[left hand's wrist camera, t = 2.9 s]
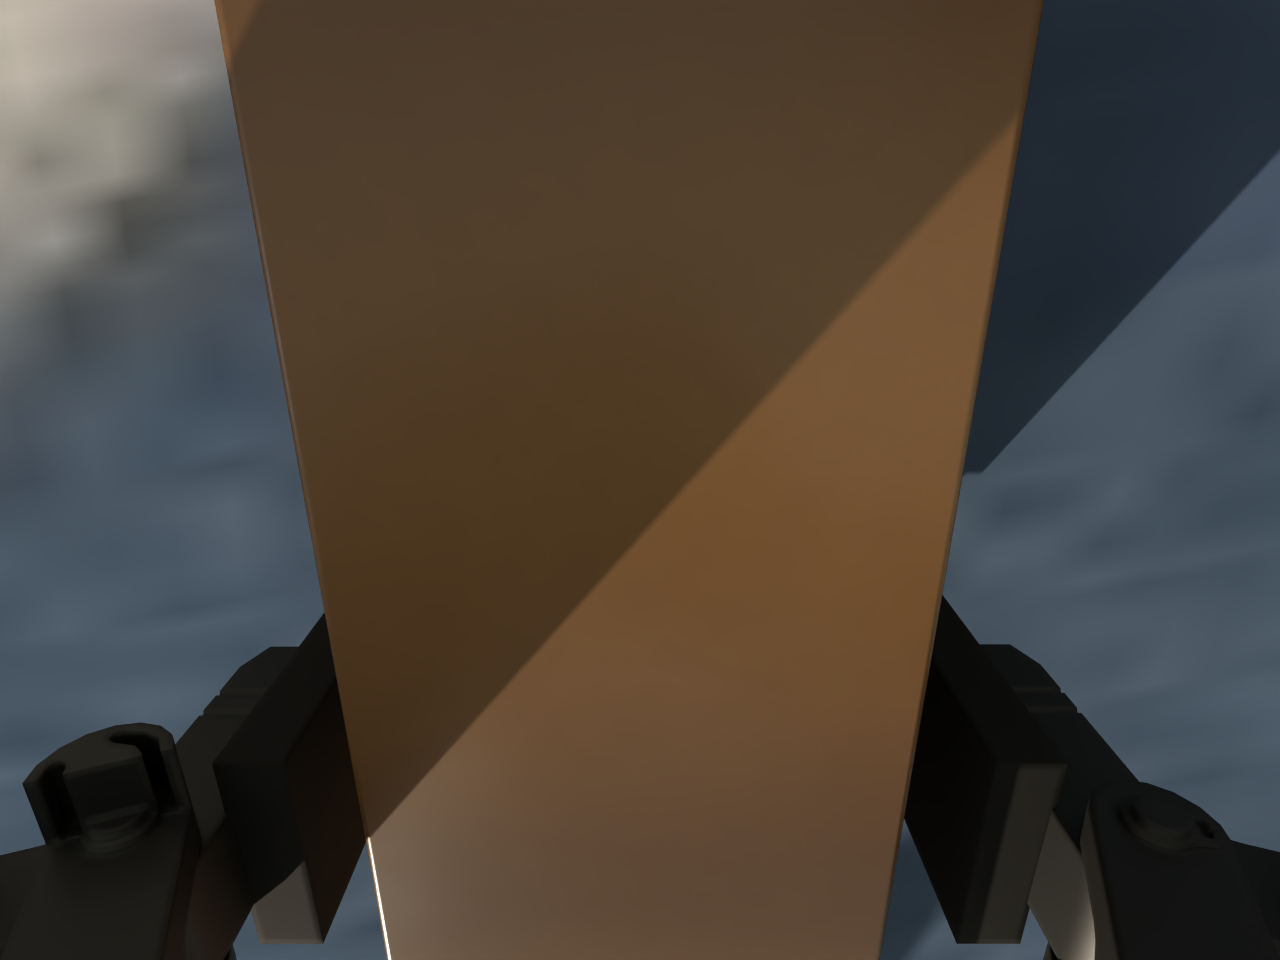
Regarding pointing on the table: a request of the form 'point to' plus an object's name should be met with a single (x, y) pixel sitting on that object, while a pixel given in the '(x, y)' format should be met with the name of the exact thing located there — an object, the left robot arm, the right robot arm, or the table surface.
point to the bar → (631, 439)
